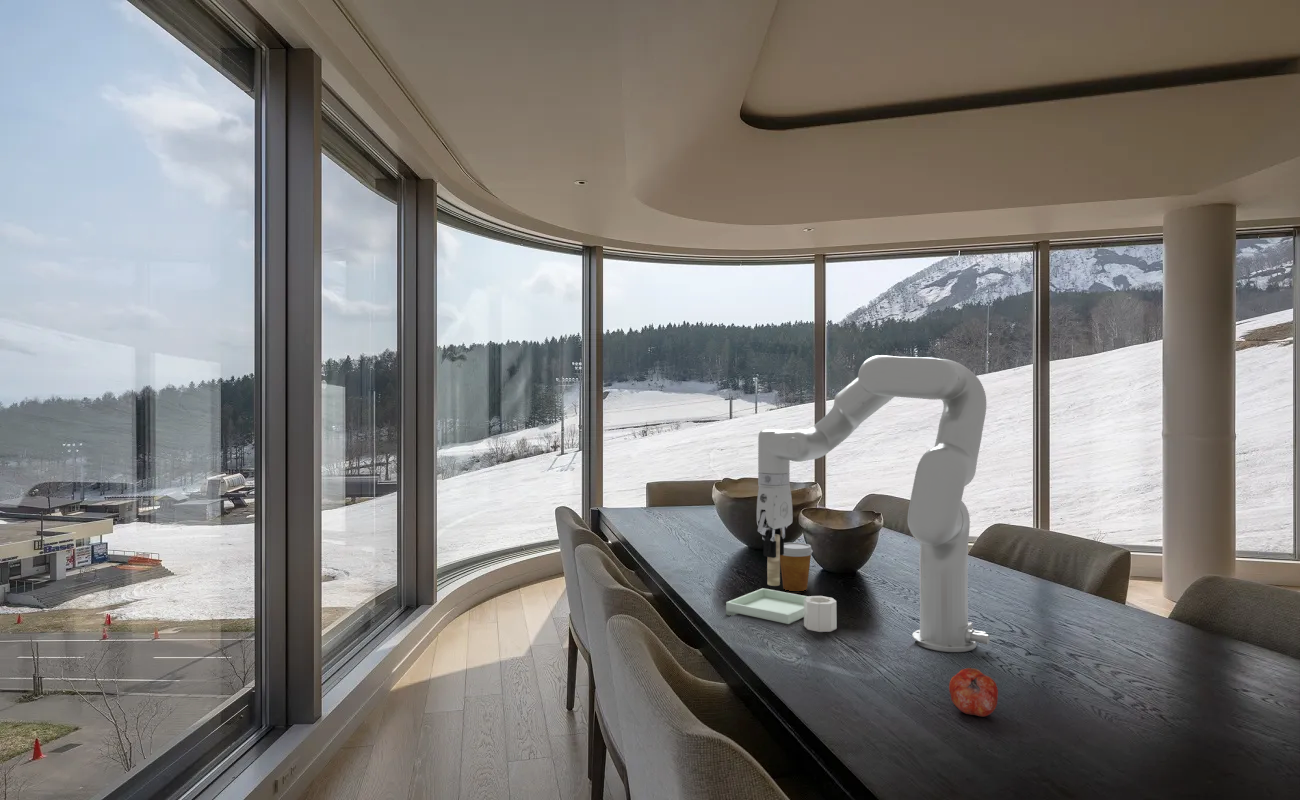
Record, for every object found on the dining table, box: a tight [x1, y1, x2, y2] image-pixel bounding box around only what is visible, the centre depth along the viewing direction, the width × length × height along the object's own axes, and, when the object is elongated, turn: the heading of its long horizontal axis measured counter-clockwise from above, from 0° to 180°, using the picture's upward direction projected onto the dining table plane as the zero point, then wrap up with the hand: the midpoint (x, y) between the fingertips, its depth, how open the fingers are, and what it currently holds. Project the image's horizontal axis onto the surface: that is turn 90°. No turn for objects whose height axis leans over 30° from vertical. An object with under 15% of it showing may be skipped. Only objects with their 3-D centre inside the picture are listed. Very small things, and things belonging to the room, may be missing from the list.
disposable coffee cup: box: [780, 542, 814, 592], centre depth 199 cm, size 10×10×12 cm
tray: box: [725, 587, 809, 625], centre depth 177 cm, size 17×17×3 cm
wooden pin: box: [766, 534, 781, 587], centre depth 177 cm, size 3×3×12 cm
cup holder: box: [803, 595, 838, 633], centre depth 162 cm, size 7×7×7 cm
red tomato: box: [948, 667, 999, 717], centre depth 120 cm, size 7×7×10 cm
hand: (773, 554), depth 177 cm, fingers closed on wooden pin, 3 cm apart
